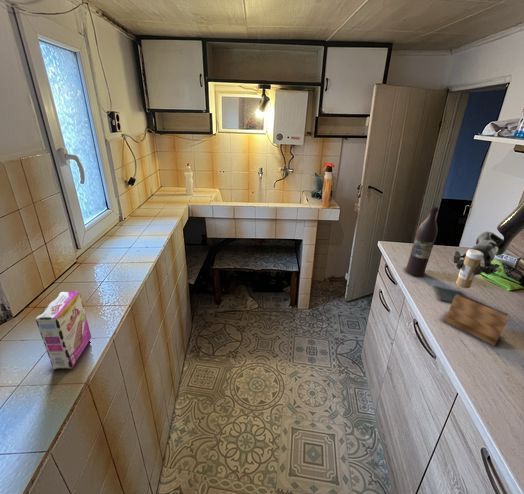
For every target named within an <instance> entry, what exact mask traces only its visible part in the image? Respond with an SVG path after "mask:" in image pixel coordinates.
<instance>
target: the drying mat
mask: <svg viewBox="0 0 524 494" xmlns="http://www.w3.org/2000/svg"><path fill="white" fill-rule="evenodd" d="M436 292H437V295H438V296H439V300H440V301H443V302H447V303H451V304H452V302H453V299H454V297H455V296H456V295H459V294H461V295H463V294H462V292H461V291H457V290H451V289H446V288H441V287H436Z"/></svg>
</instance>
